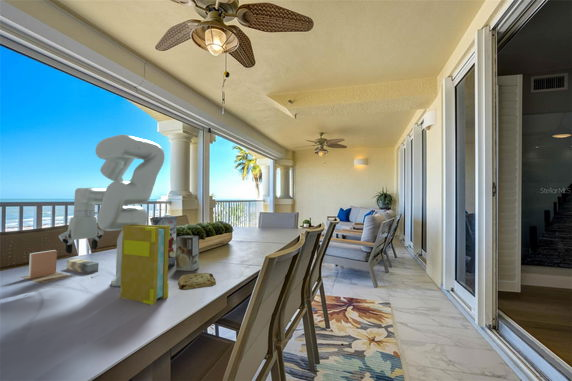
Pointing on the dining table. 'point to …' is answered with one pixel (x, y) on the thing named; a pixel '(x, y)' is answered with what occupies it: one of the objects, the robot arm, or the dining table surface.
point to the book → (145, 262)
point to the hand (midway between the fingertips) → (82, 251)
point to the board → (48, 277)
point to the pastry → (196, 281)
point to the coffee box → (187, 253)
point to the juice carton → (170, 221)
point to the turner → (82, 266)
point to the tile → (42, 263)
